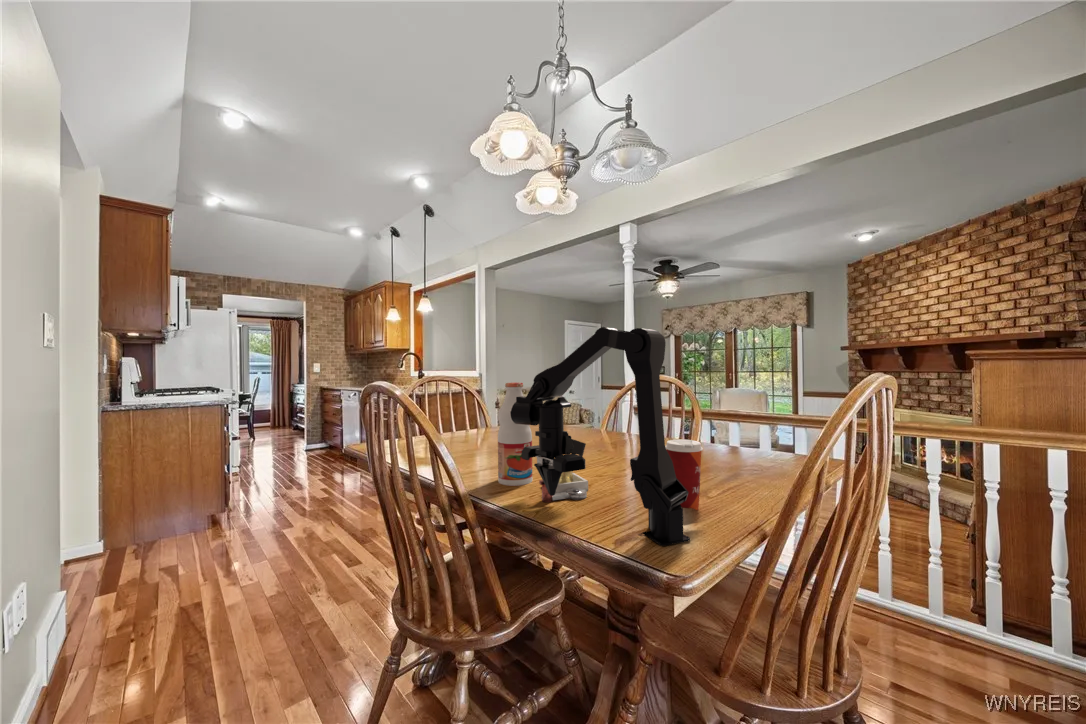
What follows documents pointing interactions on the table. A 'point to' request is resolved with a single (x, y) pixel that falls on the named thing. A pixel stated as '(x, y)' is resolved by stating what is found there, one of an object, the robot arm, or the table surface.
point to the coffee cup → (687, 467)
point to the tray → (573, 484)
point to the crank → (562, 494)
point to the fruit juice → (513, 442)
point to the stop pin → (566, 477)
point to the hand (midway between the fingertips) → (552, 495)
